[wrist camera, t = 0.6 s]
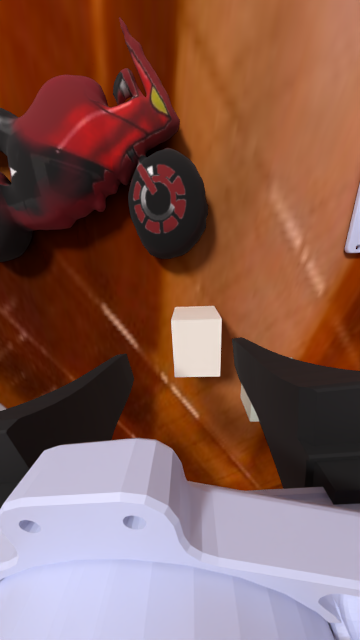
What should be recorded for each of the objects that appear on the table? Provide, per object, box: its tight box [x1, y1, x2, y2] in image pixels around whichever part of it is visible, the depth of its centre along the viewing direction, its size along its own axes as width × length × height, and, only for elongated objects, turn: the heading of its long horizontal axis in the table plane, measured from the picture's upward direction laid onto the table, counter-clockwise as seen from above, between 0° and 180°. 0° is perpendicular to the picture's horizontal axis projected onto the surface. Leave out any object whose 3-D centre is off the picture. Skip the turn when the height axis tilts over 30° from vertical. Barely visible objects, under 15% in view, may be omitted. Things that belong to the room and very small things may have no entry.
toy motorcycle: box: [0, 17, 208, 262], centre depth 15 cm, size 25×5×16 cm
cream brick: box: [171, 306, 222, 377], centre depth 19 cm, size 4×6×5 cm
